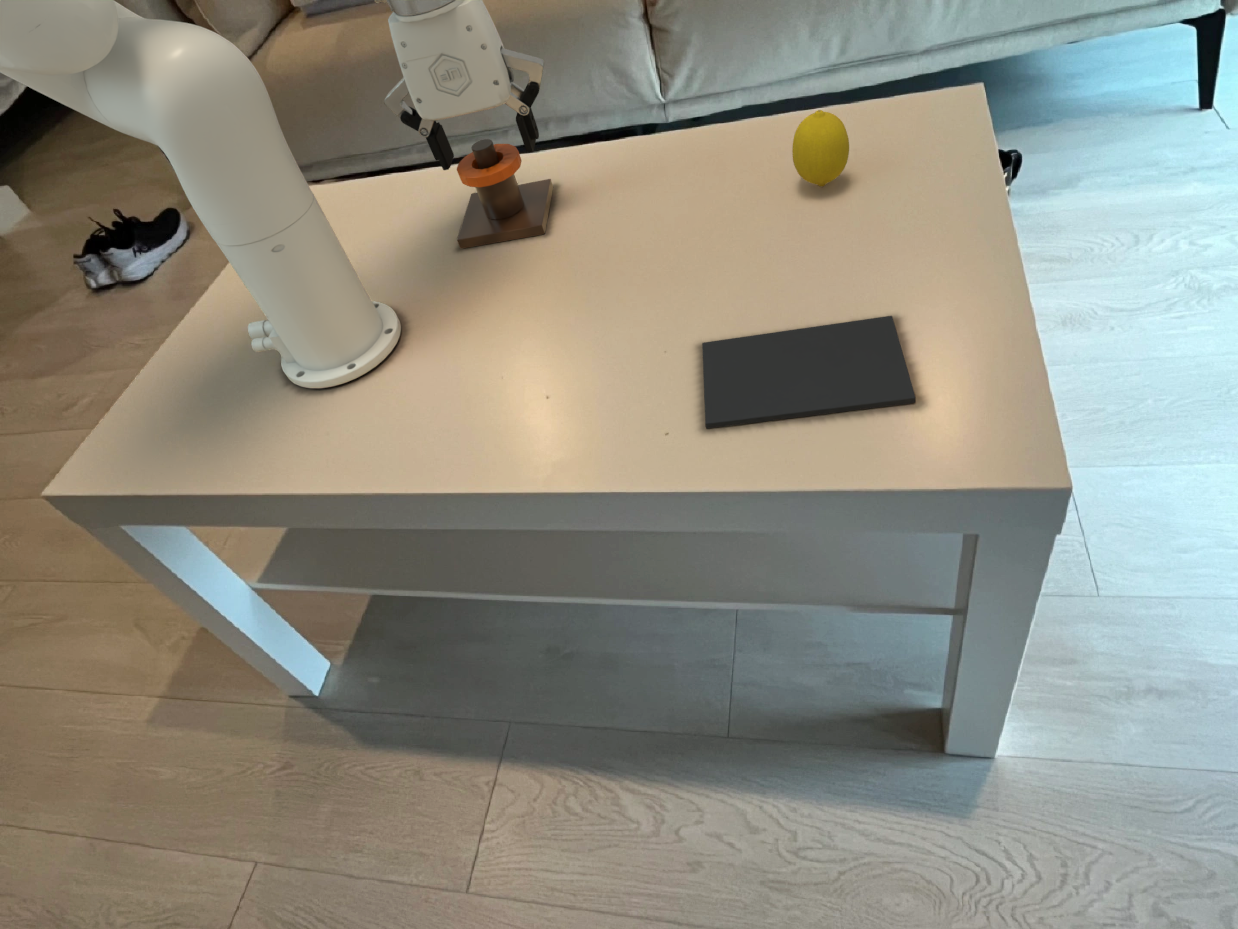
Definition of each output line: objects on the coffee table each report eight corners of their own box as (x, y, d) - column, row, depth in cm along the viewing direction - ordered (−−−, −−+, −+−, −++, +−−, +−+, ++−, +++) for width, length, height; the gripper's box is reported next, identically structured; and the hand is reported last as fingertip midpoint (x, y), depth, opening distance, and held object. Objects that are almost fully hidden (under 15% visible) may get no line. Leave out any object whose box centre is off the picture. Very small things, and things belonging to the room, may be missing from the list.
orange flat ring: (455, 192, 89) (451, 182, 88) (466, 160, 93) (462, 150, 92) (517, 180, 87) (513, 170, 86) (524, 148, 92) (521, 138, 91)
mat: (706, 429, 65) (705, 423, 65) (703, 347, 72) (702, 342, 71) (915, 403, 62) (915, 397, 62) (891, 320, 69) (892, 315, 68)
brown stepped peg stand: (460, 249, 92) (429, 176, 86) (474, 202, 99) (447, 131, 92) (544, 234, 90) (520, 158, 84) (553, 187, 97) (531, 114, 90)
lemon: (849, 197, 82) (848, 121, 76) (793, 202, 84) (787, 128, 78) (850, 168, 86) (849, 93, 80) (796, 174, 87) (791, 100, 81)
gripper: (333, 25, 76) (410, 188, 89) (508, -20, 73) (562, 156, 85) (353, -6, 81) (423, 153, 94) (518, -49, 78) (568, 121, 90)
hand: (490, 154), depth 89 cm, fingers open, 9 cm apart
